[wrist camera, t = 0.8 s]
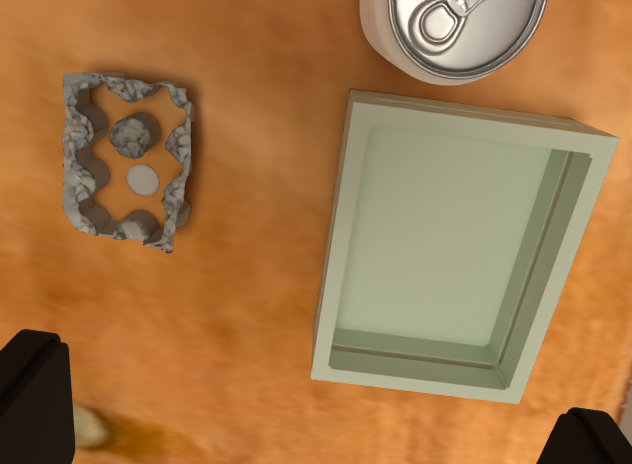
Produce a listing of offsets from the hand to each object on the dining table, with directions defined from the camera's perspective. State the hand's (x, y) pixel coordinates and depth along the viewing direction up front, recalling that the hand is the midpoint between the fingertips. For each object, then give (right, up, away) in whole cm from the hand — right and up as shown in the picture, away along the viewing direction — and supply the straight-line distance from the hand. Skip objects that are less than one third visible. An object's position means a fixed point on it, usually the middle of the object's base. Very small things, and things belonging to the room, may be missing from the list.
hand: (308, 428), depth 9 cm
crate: (+8, +4, +24) cm, 26 cm away
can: (+6, +17, +19) cm, 26 cm away
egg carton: (-11, +9, +23) cm, 27 cm away
